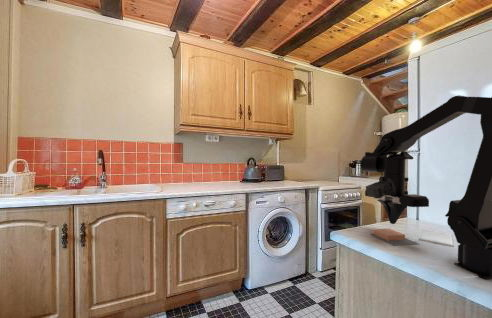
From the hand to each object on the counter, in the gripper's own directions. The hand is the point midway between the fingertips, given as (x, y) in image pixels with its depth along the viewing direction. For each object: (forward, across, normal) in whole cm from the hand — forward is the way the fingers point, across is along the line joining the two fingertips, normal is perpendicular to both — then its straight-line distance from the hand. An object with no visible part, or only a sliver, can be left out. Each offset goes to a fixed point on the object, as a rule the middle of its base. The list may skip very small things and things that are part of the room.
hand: (392, 223), depth 72 cm
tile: (+4, +2, 0) cm, 4 cm away
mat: (+5, 0, 0) cm, 5 cm away
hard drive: (+6, +2, +14) cm, 16 cm away
